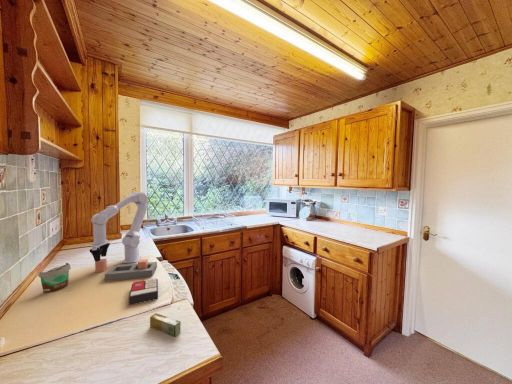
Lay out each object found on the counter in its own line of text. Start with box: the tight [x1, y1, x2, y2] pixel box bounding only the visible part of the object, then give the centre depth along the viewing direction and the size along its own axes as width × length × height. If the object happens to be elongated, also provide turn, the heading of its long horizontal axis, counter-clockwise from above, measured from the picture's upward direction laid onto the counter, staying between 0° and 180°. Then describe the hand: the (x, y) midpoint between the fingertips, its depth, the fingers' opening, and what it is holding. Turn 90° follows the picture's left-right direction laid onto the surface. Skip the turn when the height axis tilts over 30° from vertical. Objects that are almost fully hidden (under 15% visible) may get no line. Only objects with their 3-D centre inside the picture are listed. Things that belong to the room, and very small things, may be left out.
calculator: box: [128, 277, 159, 306], centre depth 98 cm, size 11×4×15 cm
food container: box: [38, 262, 72, 294], centre depth 102 cm, size 12×6×10 cm, turn 168°
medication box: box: [149, 312, 181, 338], centre depth 74 cm, size 12×3×4 cm, turn 67°
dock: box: [104, 258, 158, 282], centre depth 117 cm, size 12×22×7 cm, turn 104°
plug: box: [94, 258, 108, 273], centre depth 122 cm, size 4×4×6 cm
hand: (100, 258), depth 121 cm, fingers open, 7 cm apart
